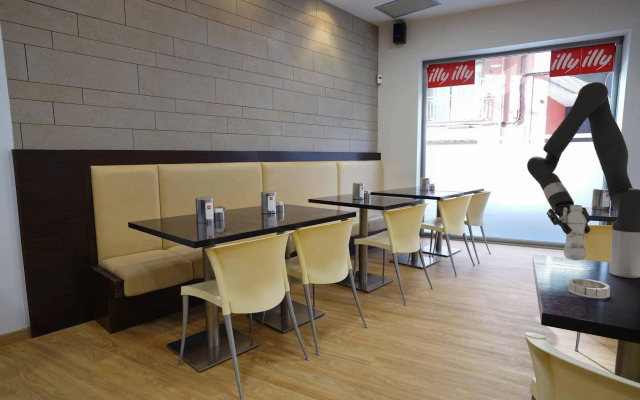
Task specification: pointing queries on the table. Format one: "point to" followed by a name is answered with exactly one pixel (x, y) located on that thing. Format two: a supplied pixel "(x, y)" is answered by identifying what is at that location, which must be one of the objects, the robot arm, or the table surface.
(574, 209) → the plastic bottle
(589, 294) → the ring holder
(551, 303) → the table surface
